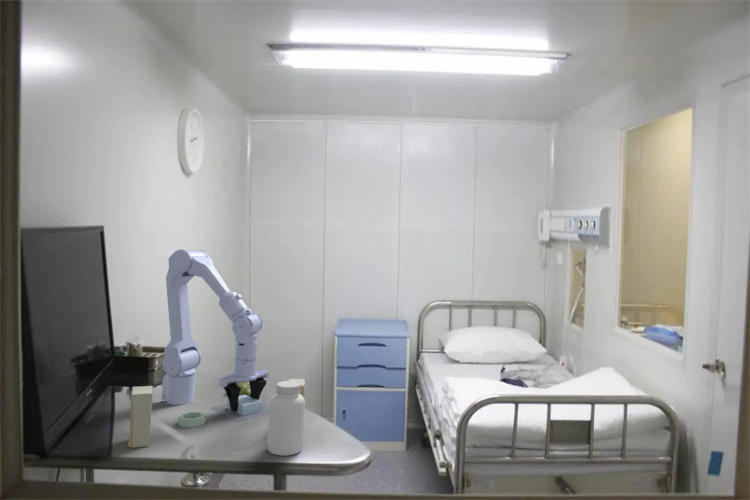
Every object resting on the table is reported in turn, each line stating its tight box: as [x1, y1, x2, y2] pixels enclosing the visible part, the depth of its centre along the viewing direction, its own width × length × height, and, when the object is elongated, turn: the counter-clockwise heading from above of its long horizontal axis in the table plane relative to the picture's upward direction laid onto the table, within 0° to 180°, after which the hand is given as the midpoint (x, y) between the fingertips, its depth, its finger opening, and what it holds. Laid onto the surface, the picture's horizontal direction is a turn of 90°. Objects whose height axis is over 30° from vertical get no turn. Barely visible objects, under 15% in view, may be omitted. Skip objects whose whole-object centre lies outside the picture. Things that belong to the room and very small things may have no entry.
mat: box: [210, 403, 270, 423], centre depth 132 cm, size 14×12×1 cm
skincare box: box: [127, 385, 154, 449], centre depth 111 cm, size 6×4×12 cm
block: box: [226, 395, 263, 416], centre depth 132 cm, size 8×6×3 cm
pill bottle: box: [267, 380, 306, 457], centre depth 111 cm, size 8×8×15 cm
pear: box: [237, 381, 251, 397], centre depth 145 cm, size 6×5×10 cm
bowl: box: [177, 410, 207, 428], centre depth 121 cm, size 6×6×3 cm
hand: (244, 408), depth 132 cm, fingers open, 6 cm apart
